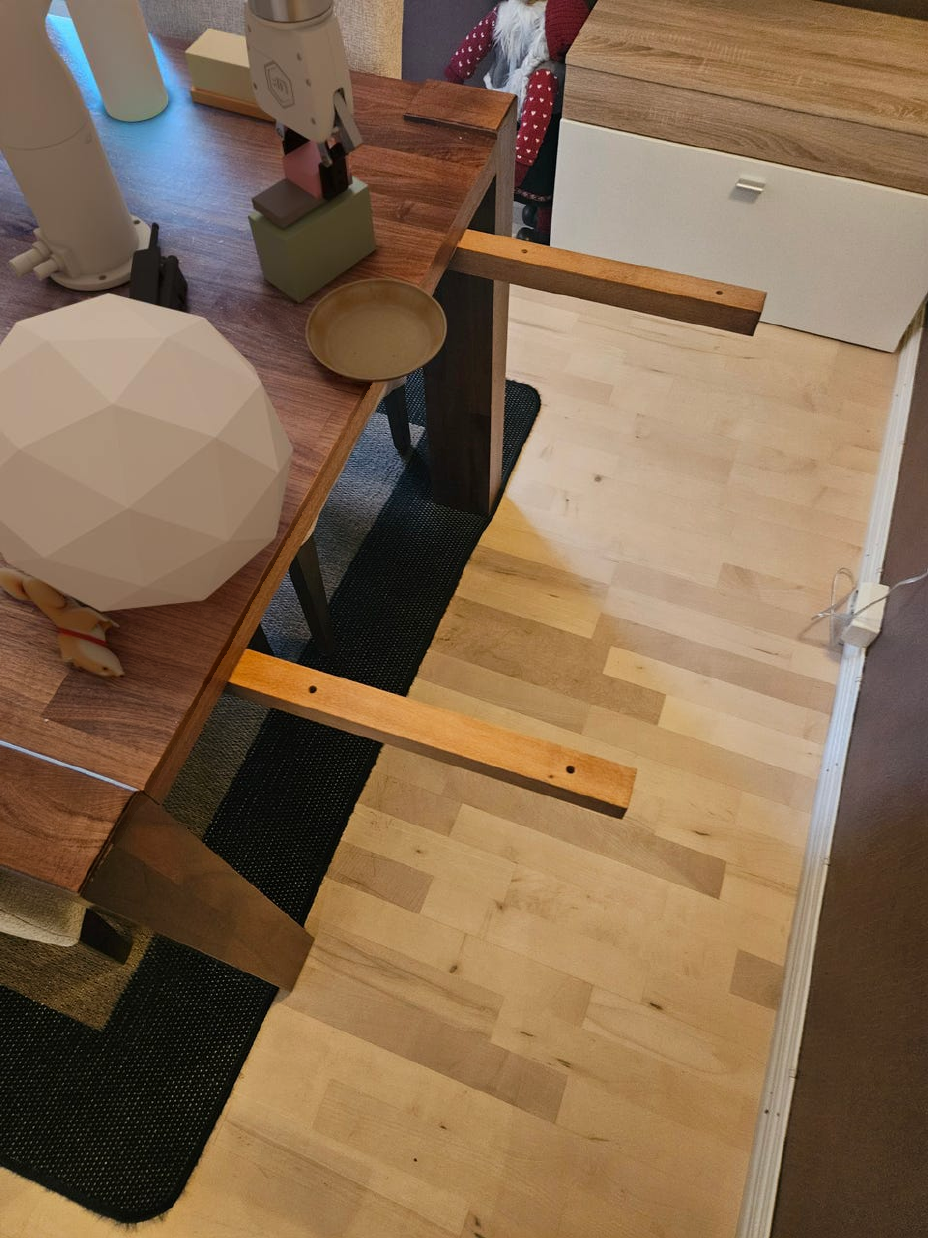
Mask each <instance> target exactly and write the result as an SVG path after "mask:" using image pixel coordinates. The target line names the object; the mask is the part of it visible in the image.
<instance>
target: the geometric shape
mask: <svg viewBox="0 0 928 1238" xmlns="http://www.w3.org/2000/svg"><path fill="white" fill-rule="evenodd" d="M91 298H92V299H89V300H86V299H85V300H82V301H79V302H77V303H73V304H70V305H66V306H63V307H59V308H57V309H54V310H51V311H47V312H44V313H41V314H38V315H35V316H32V317H28V318H24V319H22V320H19V321H16V322H15V323H14V325H13V326H12V327H11V329H10V330H9V332H8V333H7V335H6V336H5V337H4V339H3V341H2V342H1V344H0V553H1V555H2V557H3V558H4V560H5V562H6V564H9V565H10V566H12V567H15V568H16V569H18V570H20V571H22V572H24V573H26V574H27V575H29V576H31V577H35V578H37V579H39V580H41V581H43V582H45V583H47V584H49V585H51V586H53V587H55V588H57V589H59V590H60V591H62V592H64V593H66V594H68V595H70V596H72V597H74V598H76V599H78V600H80V601H82V602H84V603H85V604H87V605H86V606H88V607H90V608H92V609H94V610H96V611H98V612H108V611H109V612H110V611H119V610H128V609H137V608H147V607H155V606H165V605H173V604H174V605H175V604H181V603H183V604H184V603H192V602H201V601H205V600H206V599H208V597H210V596H211V595H212V594H213V593H214V592H215V591H217V590H218V589H219V588H220V587H221V586H222V585H224V584H225V583H226V582H227V581H228V580H230V578H232V577H233V576H234V575H235V574H236V573H237V572H238V571H240V570H241V569H242V568H243V567H244V566H245V565H247V563H248V562H250V561H251V560H252V559H253V558H255V556H257V555H258V554H259V553H261V551H263V550H264V549H265V548H266V547H267V546H268V545H270V543H271V542H273V541H274V540H275V539H276V538H277V533H278V529H279V525H280V519H281V514H282V509H283V504H284V499H285V493H286V489H287V484H288V479H289V474H290V469H291V464H292V459H293V454H294V447H293V445H292V443H291V441H290V439H289V437H288V435H287V433H286V431H285V428H284V427H283V424H282V422H281V421H280V418H279V416H278V414H277V412H276V410H275V407H274V406H273V403H272V401H271V400H270V397H269V395H268V393H267V391H266V389H265V387H264V385H263V383H262V381H261V379H260V377H259V374H258V372H257V370H256V368H255V366H254V365H253V364H252V363H251V362H250V361H249V360H248V359H247V358H246V357H245V356H244V355H243V354H242V353H240V351H238V349H237V348H236V347H234V345H232V343H231V342H229V340H228V339H227V338H226V337H225V336H224V335H223V334H222V333H221V332H220V331H219V330H218V329H216V327H214V325H212V324H211V323H210V322H209V321H208V320H207V319H206V317H203V316H199V315H196V314H193V313H192V314H191V313H187V312H185V311H184V312H180V311H176V310H172V309H168V308H164V307H160V306H157V305H153V304H149V303H145V302H141V301H137V300H133V299H129V297H125V296H120V295H118V294H113V293H109V292H108V293H105V294H101V295H98V296H94V297H91Z"/></svg>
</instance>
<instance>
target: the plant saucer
mask: <svg viewBox="0 0 928 1238" xmlns="http://www.w3.org/2000/svg"><path fill="white" fill-rule="evenodd" d="M447 329H448V324H447V318H446V315H445V312H444V310H443V308H442V306H441V305H440V303H439V302H438V301H437V300H436V299H435V298H434V297H433V296H432V295H431V294H430V293H429V292H427V291H426V290H424V289H423V288H421V287H418V286H416V285H415V284H412V283H410V282H407V281H403V280H398V279H392V278H378V277H377V278H366V279H365V278H364V279H362V280H361V279H359V280H356V281H352V282H349V283H346V284H344V285H341V286H339V287H337V288H335V289H334V290H331V291H330V292H328V293H327V294H325V295H324V296H323V297H322V298H321V299H320V300H319V301H318V302H317V303H316V304H315V305H314V307H313V308H312V310H311V311H310V313H309V315H308V318H307V320H306V324H305V339H306V343H307V346H308V348H309V350H310V351H311V353H312V355H313V356H314V357H315V358H316V360H318V361H319V362H320V363H321V364H322V365H323V366H325V368H327V369H329V370H330V371H332V372H334V373H336V374H338V375H340V376H342V377H344V378H347V379H350V380H354V381H358V382H365V383H384V382H390V381H395V380H399V379H401V378H404V377H406V376H409V375H411V374H413V373H415V372H417V371H419V370H420V369H421V368H423V367H424V366H425V365H427V364H428V363H429V362H430V361H431V360H432V359H433V358H434V357H435V356H436V355H437V354H438V353H439V351H440V350H441V348H442V347H443V345H444V342H445V339H446V336H447Z"/></svg>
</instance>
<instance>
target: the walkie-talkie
mask: <svg viewBox="0 0 928 1238" xmlns="http://www.w3.org/2000/svg"><path fill="white" fill-rule="evenodd" d="M150 230H151V234H150V240H149V246H148V248H147V249H142V250H138V251H135V252H134V254H133V260H132V266H131V276H130V281H129V290H128V298H129V299H133V300H137V301H141V302H145V303H149V304H153V305H157V306H160V307H164V308H168V309H172V310H176V311H180V312H184V313H185V307H186V302H187V295H188V287H189V285H188V281H187V279H186V277H185V275H184V274H183V272H182V270H181V269H180V267H179V266H180V265H179V264H180V261H179V259H178V257H177V256H176V255H173V254H170V255H167V256H165V255H162V248H161V247H160V246H158V242H159V231H160V225H159V224H158V223H157V222H156V221H154V222H152V223H151V229H150Z"/></svg>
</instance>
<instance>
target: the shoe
mask: <svg viewBox="0 0 928 1238" xmlns="http://www.w3.org/2000/svg"><path fill="white" fill-rule="evenodd" d="M184 55H185V59H186V63H187V66H188V69H189V74H190V77H191V80H192V84H193V86H192V87H190V88H189V93H190V94H189V95H190V97H191V101H192V102H193V103H197V104H202V105H206V106H210V107H214V108H218V109H220V110H221V109H222V110H226V111H230V112H234V113H237V114H241V115H246V116H248V117H253V118H256V119H261V120H265V121H269V122H272V123H276V122H275V120H274V119H273V117H271V116H270V115H268V114H267V113H266V112H264V111H263V110H262V109H261V108H260V107H259V105H258V104H257V102H256V98H255V94H254V90H253V85H252V79H251V73H250V67H249V61H248V54H247V46H246V38H245V35H239V34H236V33H232V32H231V33H230V32H227V31H223V30H219V29H215V28H210V27H208V28H207V29H206V30H205V31H204V32H202V34H201V35H200V36H199V37H198V38H197V39H196V40H195V41H194V42H193V43H192V44H191V45H190V46H189V47H188V48H187V49H186V50H185V51H184Z"/></svg>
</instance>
